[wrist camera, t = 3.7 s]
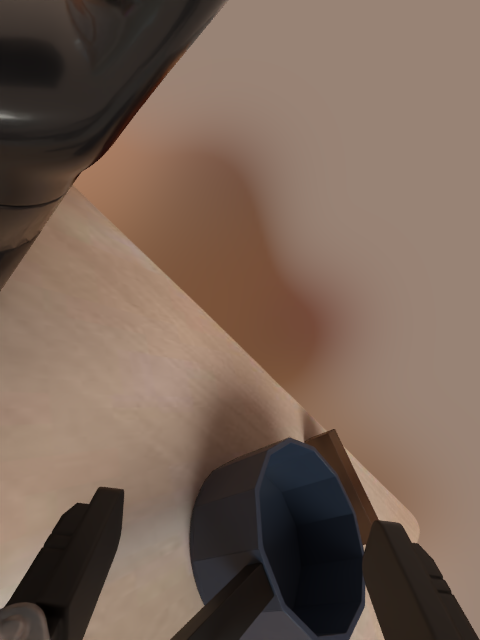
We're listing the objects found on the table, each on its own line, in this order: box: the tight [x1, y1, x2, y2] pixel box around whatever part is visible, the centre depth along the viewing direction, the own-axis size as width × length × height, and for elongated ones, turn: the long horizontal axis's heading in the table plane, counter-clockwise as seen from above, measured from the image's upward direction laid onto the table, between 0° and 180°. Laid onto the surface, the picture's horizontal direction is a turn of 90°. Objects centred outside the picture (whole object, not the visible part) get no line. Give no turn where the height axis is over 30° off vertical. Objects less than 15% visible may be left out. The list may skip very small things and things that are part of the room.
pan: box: [170, 438, 365, 640], centre depth 28 cm, size 15×28×8 cm, turn 123°
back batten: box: [305, 429, 378, 545], centre depth 48 cm, size 14×2×4 cm, turn 33°
